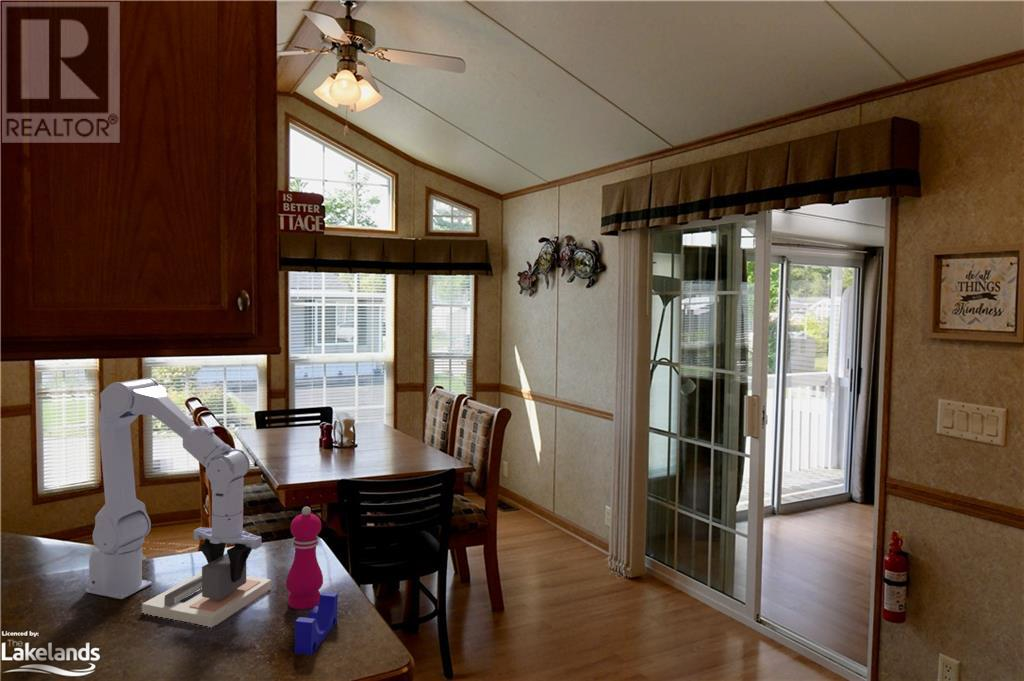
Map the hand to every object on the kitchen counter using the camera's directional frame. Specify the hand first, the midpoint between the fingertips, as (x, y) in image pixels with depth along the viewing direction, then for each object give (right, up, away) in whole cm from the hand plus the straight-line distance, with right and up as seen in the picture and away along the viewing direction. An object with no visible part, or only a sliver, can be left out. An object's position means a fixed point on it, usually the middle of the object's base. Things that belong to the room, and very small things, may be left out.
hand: (226, 578), depth 135 cm
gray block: (0, -2, 0) cm, 2 cm away
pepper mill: (+15, -6, +2) cm, 16 cm away
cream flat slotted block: (-4, -5, +1) cm, 7 cm away
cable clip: (+21, -7, -11) cm, 24 cm away
